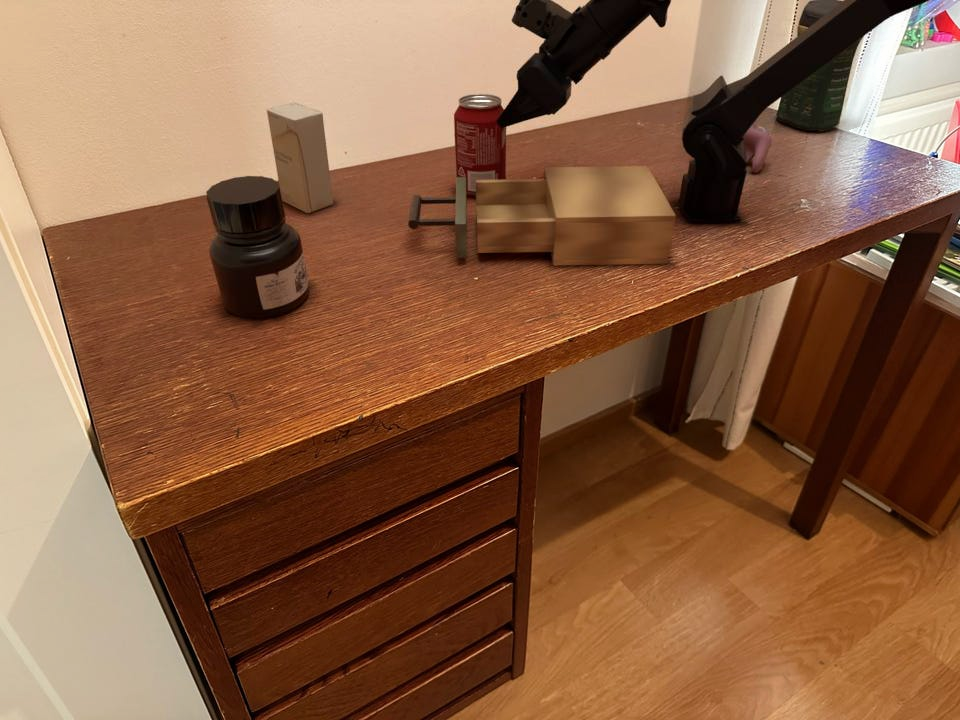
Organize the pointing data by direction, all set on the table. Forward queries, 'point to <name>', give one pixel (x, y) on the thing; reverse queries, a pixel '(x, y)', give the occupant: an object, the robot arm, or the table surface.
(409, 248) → the table surface
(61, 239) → the table surface
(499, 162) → the soda can
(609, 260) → the drawer unit
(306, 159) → the cosmetic box
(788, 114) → the coffee jar
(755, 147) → the video game controller
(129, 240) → the table surface
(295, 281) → the ink bottle
